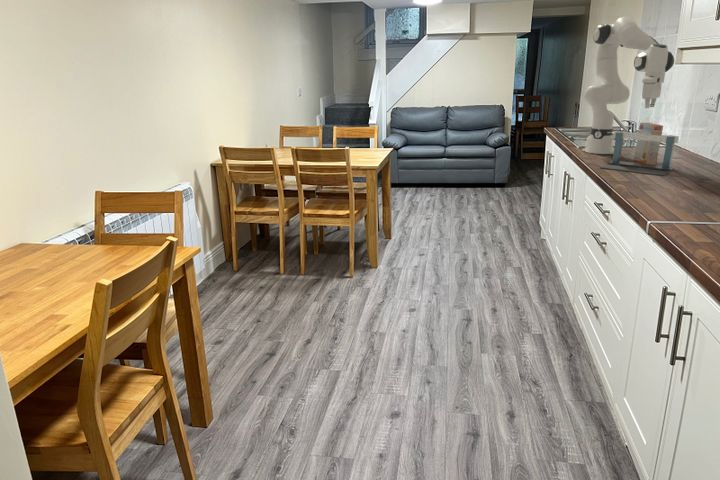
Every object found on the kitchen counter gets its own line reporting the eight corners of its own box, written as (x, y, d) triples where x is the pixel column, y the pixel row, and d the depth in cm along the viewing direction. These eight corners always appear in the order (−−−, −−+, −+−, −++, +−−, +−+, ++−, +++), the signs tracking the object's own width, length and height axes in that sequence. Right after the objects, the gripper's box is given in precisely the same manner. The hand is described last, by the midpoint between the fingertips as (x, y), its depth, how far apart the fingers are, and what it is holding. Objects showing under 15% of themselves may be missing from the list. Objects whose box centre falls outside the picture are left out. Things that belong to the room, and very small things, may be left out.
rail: (614, 136, 289) (615, 131, 288) (678, 142, 270) (679, 136, 270) (612, 137, 286) (613, 131, 285) (676, 143, 268) (677, 137, 267)
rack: (611, 162, 295) (616, 130, 289) (673, 169, 277) (680, 135, 271) (607, 164, 289) (612, 132, 284) (670, 172, 271) (676, 137, 265)
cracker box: (656, 165, 287) (664, 125, 280) (645, 165, 287) (652, 125, 280) (644, 160, 300) (650, 122, 294) (633, 160, 300) (639, 122, 294)
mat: (605, 165, 287) (605, 164, 287) (668, 173, 269) (669, 171, 269) (599, 168, 280) (599, 167, 279) (664, 176, 261) (664, 175, 261)
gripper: (652, 78, 279) (648, 106, 283) (641, 79, 264) (637, 108, 268) (666, 78, 275) (661, 106, 279) (655, 79, 260) (651, 109, 264)
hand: (649, 107), depth 273 cm, fingers open, 8 cm apart
